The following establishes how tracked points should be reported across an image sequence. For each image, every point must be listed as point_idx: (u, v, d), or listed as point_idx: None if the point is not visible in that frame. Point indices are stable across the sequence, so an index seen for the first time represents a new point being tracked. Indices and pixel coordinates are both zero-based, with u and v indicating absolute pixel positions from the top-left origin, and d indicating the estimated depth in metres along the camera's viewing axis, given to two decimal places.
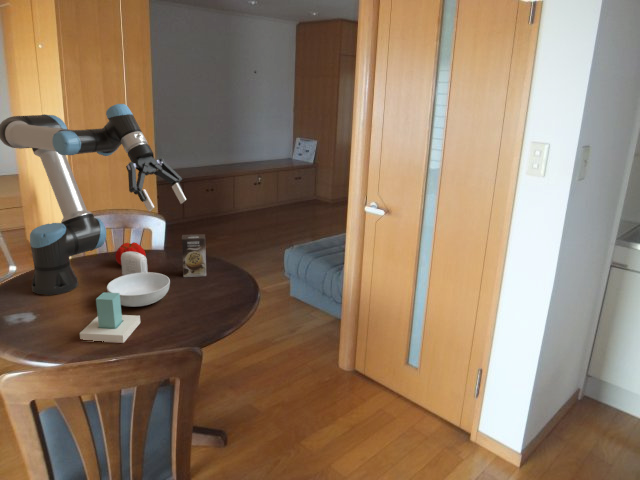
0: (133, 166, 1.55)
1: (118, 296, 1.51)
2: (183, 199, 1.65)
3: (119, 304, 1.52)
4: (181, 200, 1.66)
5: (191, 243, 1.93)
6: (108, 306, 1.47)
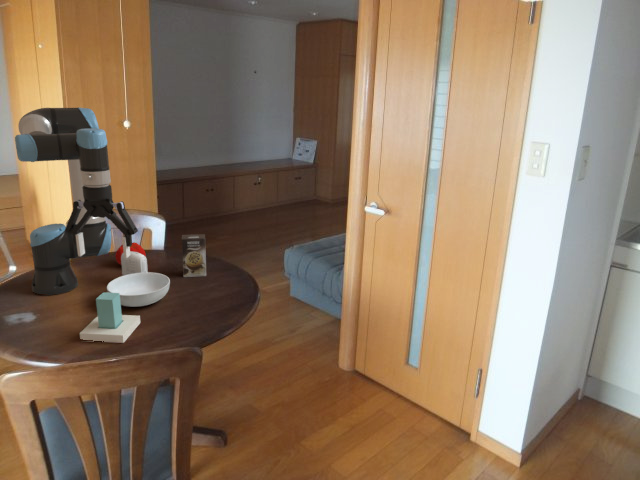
0: (75, 207, 1.40)
1: (118, 296, 1.51)
2: None
3: (119, 304, 1.52)
4: None
5: (191, 243, 1.93)
6: (108, 306, 1.47)
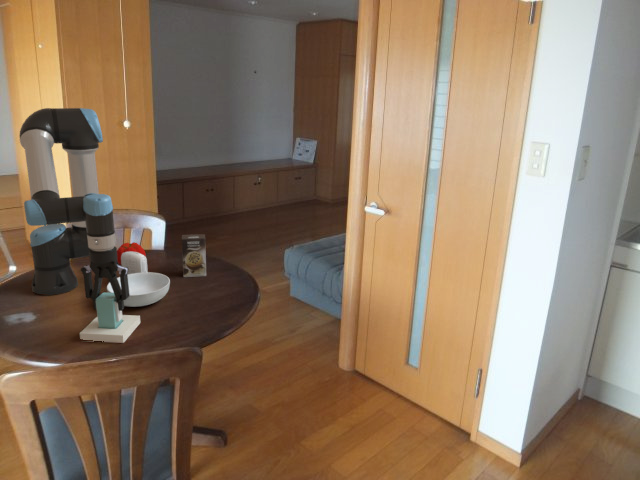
0: (85, 272, 1.46)
1: None
2: None
3: None
4: None
5: (191, 243, 1.93)
6: (108, 306, 1.47)
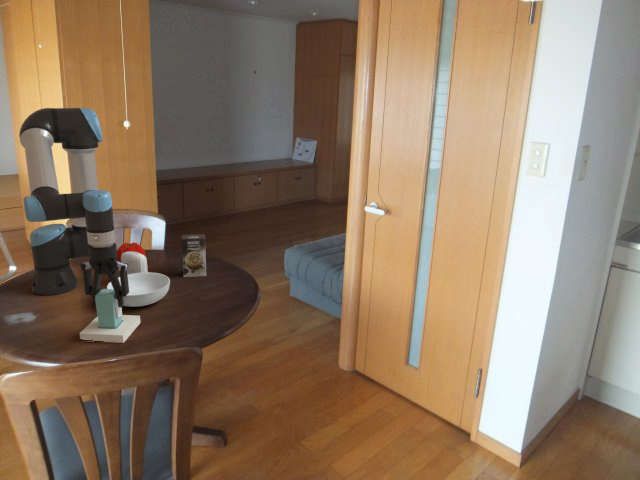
0: (84, 269, 1.45)
1: None
2: None
3: None
4: None
5: (191, 243, 1.93)
6: (108, 302, 1.47)
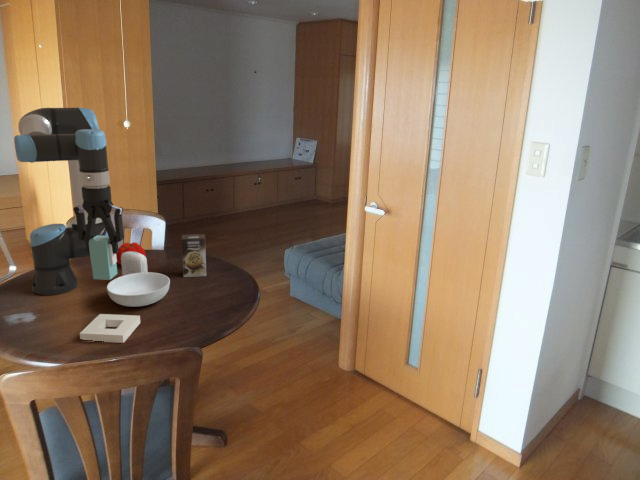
0: (77, 212, 1.40)
1: None
2: None
3: None
4: None
5: (191, 243, 1.93)
6: (102, 248, 1.42)
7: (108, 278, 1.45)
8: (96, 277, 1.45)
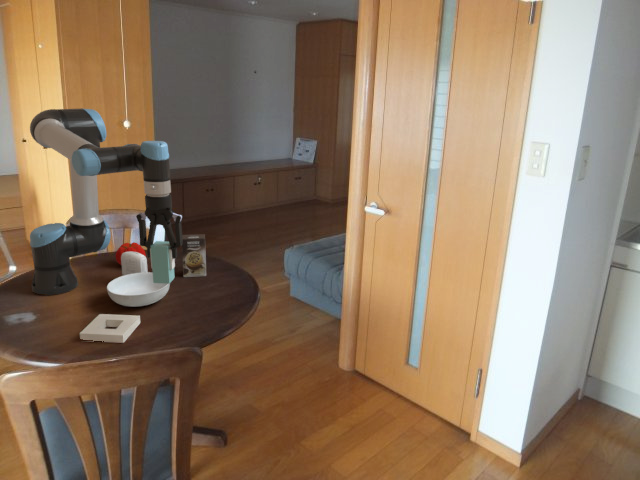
0: (140, 219, 1.47)
1: None
2: None
3: None
4: None
5: (191, 243, 1.93)
6: (163, 253, 1.49)
7: (167, 282, 1.52)
8: (156, 281, 1.52)
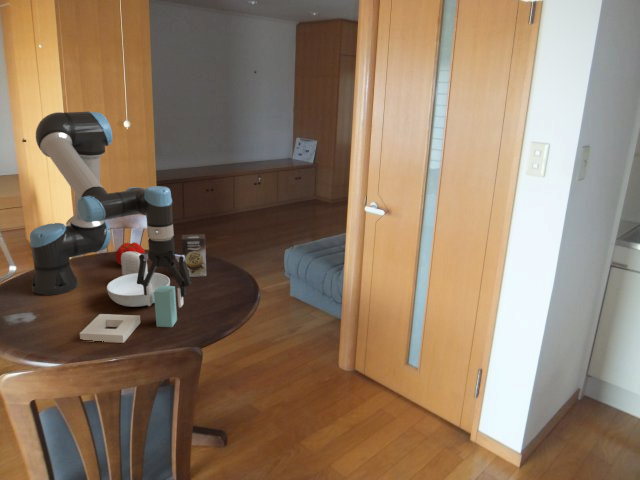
0: (142, 260, 1.51)
1: (174, 289, 1.57)
2: None
3: (174, 297, 1.58)
4: None
5: (191, 243, 1.93)
6: (166, 299, 1.53)
7: (170, 326, 1.56)
8: (159, 325, 1.56)
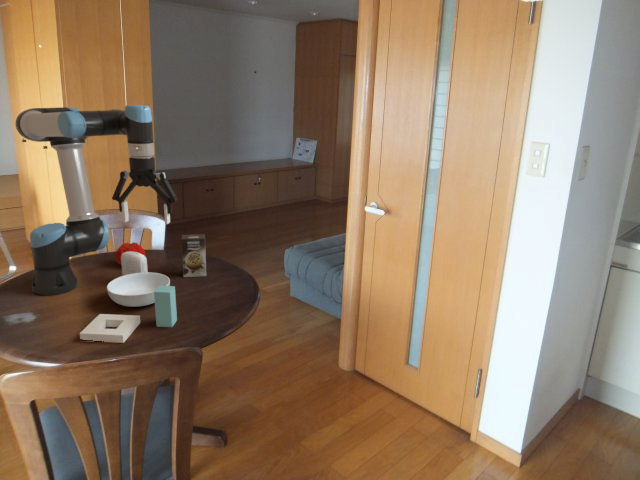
0: (122, 177, 1.54)
1: (174, 289, 1.57)
2: None
3: (174, 297, 1.58)
4: None
5: (191, 243, 1.93)
6: (166, 299, 1.53)
7: (170, 326, 1.56)
8: (159, 325, 1.56)
